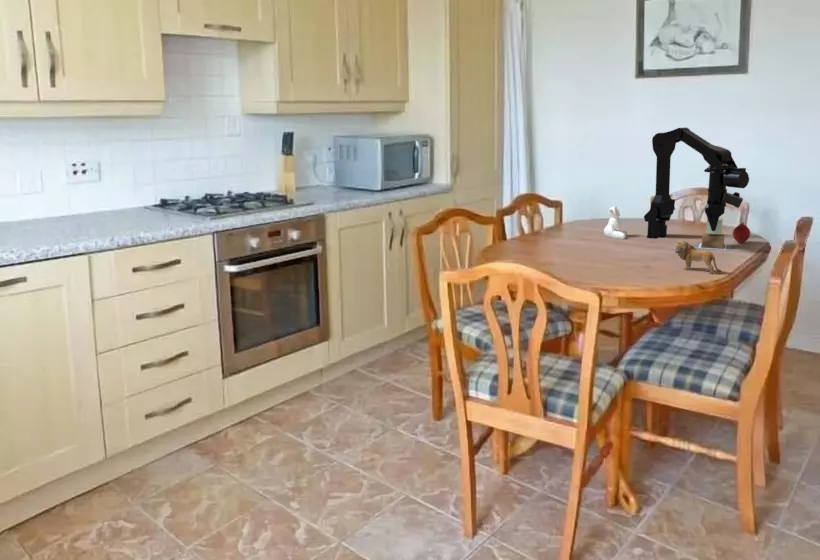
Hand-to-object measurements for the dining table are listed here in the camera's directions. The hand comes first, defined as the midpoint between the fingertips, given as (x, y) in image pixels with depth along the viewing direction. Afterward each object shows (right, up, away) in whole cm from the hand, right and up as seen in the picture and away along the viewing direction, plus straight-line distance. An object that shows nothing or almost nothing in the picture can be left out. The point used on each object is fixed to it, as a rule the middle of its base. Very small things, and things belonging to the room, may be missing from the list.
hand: (713, 229), depth 256 cm
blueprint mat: (0, -6, +2) cm, 6 cm away
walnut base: (0, -6, +1) cm, 6 cm away
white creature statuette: (-28, -1, +26) cm, 38 cm away
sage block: (0, -1, 0) cm, 1 cm away
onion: (+13, -5, +7) cm, 15 cm away
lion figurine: (-19, -15, -31) cm, 39 cm away
